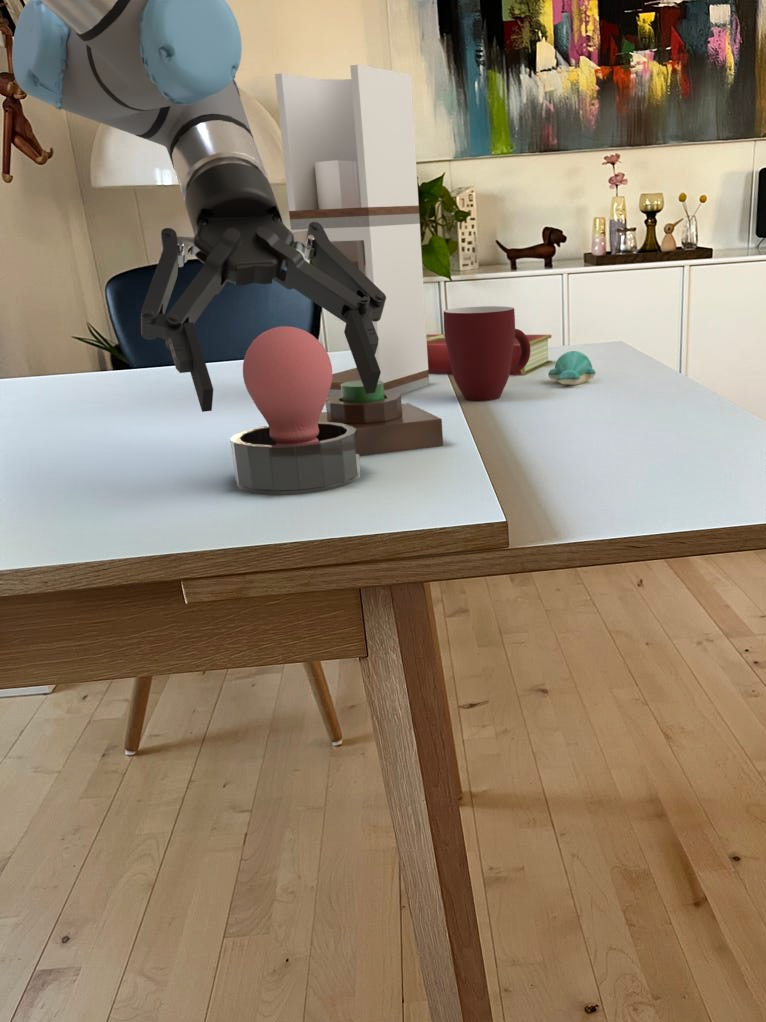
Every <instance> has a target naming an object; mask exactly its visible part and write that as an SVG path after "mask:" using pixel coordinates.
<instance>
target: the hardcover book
mask: <svg viewBox="0 0 766 1022" xmlns="http://www.w3.org/2000/svg"><path fill="white" fill-rule="evenodd" d="M525 335H526V336H527V338H528V340H529V343H530V358H529V361H528V363H527V364H526V366H525V367H524V368H523V369H521V370H520V371H518V372H516V373H513V374H510V375H509V376H526V375H528V374H531V373H533V372H535V371H537V370H539V369H541V368H544V367H546V366H547V365H550V364H552V362H553V361H552V360H549V339H552V334H525ZM426 339H427V356H428V373H429V375H453V373H452V368H451V364H450V359H449V355H448V350H447V345H446V341H445V334H444V333H443V334H441V333H436V334H431V333H430V334H429V333H426ZM520 354H521V347H520V344H519V341H518V340H517V339H516V338H514V346H513V353H512V360H511V367H513V366H514V365H516V364H517V362H518V361H519V358H520Z"/></svg>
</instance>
